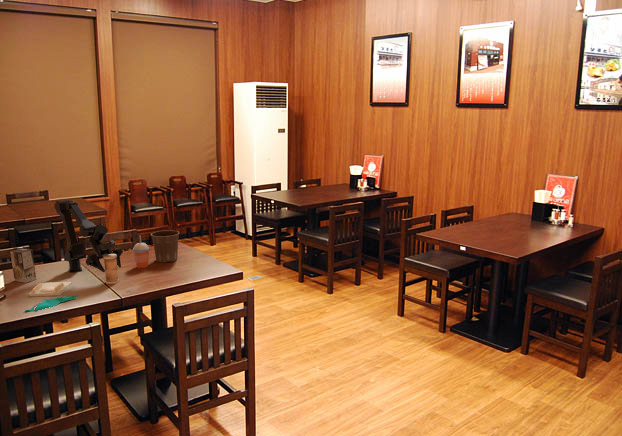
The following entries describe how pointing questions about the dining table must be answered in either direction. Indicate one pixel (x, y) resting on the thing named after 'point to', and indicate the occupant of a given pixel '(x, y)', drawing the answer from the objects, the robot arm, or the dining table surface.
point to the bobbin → (111, 268)
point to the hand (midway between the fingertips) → (112, 269)
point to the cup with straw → (141, 254)
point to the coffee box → (23, 265)
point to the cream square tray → (50, 288)
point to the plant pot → (165, 245)
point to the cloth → (51, 302)
